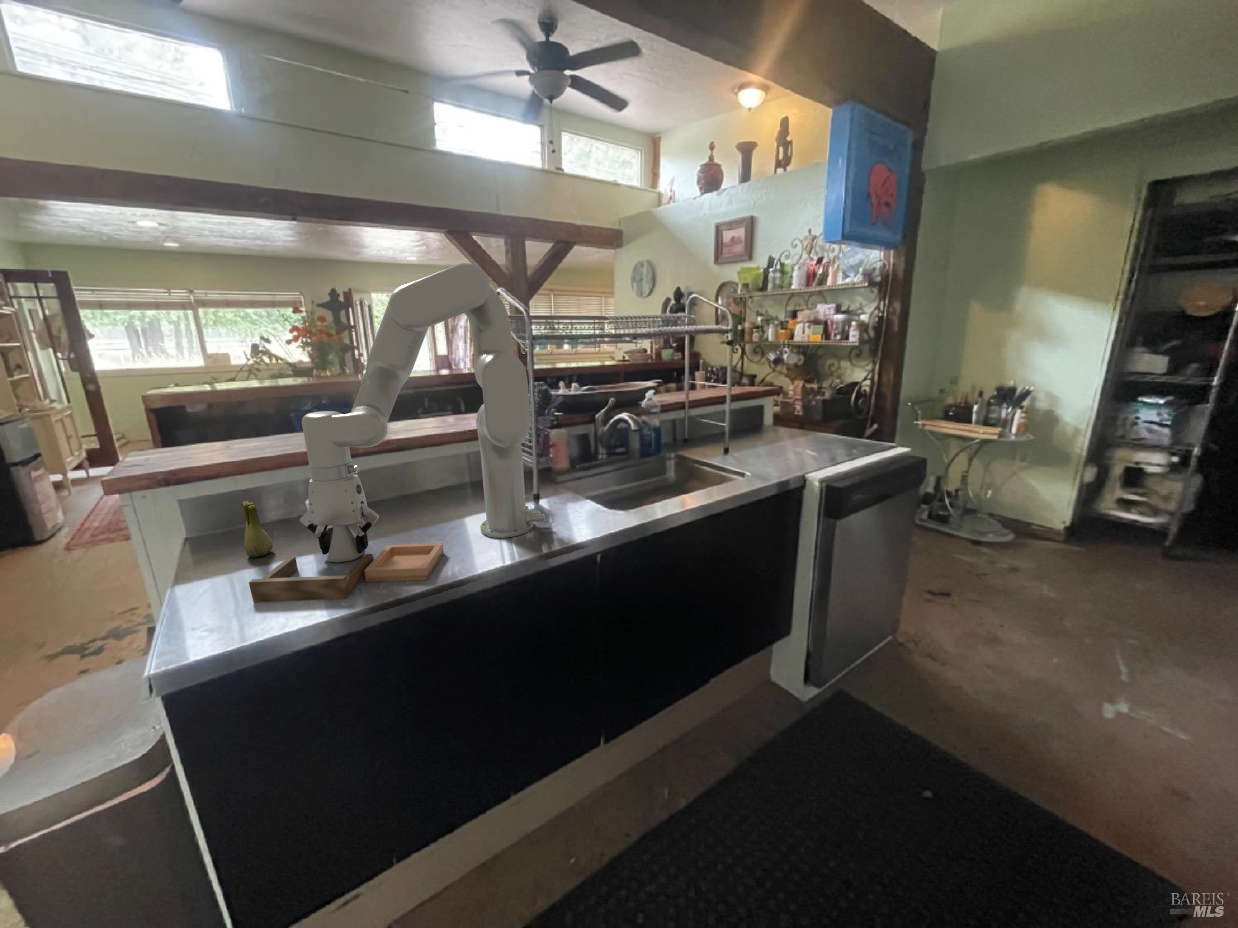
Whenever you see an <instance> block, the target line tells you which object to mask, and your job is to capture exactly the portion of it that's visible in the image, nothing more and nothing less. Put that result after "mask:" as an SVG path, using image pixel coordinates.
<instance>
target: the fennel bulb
mask: <svg viewBox="0 0 1238 928" xmlns="http://www.w3.org/2000/svg"><path fill="white" fill-rule="evenodd" d="M241 506H242V509H243V510H242V511H243V513H244V519H245V532H244V549H245V551H246V555H247V556H249V557H250V558H260V557H263V556H266V555H268V554H269V553H270V552H271V551H272V549H273V548H274V547H273V546H274V545H273V540H272V538H271V537H270V536H269V534H268V533H267V532H266V531H265V529H263V528H262V525H261V523H260V519H259V516H258V514H259V513H258V511H257V506H256V505H255V503H254V502H249V501H243V502H242V503H241Z"/></svg>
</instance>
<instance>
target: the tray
mask: <svg viewBox="0 0 1238 928" xmlns="http://www.w3.org/2000/svg"><path fill="white" fill-rule="evenodd" d="M444 553H445V551H444V544H443V542H439V543H438V542H437V543H433V542H432V543H408V544H407V543H404V544H403V543H402V544H387V545H386V546H385V548H383V549H382V550H381V552H380V553H379V554H378V555H377V556H376V557H375V558H373V562H372V563H371V564H370V565H369V566H368V567H367V568H366V569H365V570H364V571H365V581H366V583H377V582H399V581H401V582H404V581H425V580H426V581H427V580H429V578H430V576H431V575H432V574H433V572H434V570H435V568H436V567H437V565H438V564H439V562H440V560H441V558H442V557H443V556H444V555H445V554H444Z"/></svg>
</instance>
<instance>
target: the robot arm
mask: <svg viewBox="0 0 1238 928" xmlns="http://www.w3.org/2000/svg"><path fill="white" fill-rule="evenodd" d="M462 314H465V316H466V318H467V319H468V322H469V327H470V330H471V331H470V332H471V339H472V345H473V346H472V347H473V358H474V359H473V360H474V361H473V362H474V376H475V381H476V382H477V384H478V385H479V387H480V388H481V389H482V398H483V399H482V400H483V404H481V405H480V407H479V409H478V410H477V414H476V420H475V421H476V424H475V425H476V431H477V436H478V443H479V450H480V451H479V452H480V457H481V458H480V461H481V472H482V485H483V497H484V506H485V507H484V509H485V517H486V519H485V520H484V521H483V522H482V523H481V524H480V532H481V533H482V535H484V536H486V537H489V538H498V539H501V538H502V539H504V538H505V539H506V538H513V537H518V536H522V535H524V534H527V533H528V532H530V531H531V530H532V529H533V527H534V522H535V523H536V522H537V523H542V522H543V523H544V522H545V520H546V519H545V518H546V517H545V513H541V511H538V510H537V511H531V510H529V505H526V492H525V490H526V489H525V477H524V476H525V474H524V457H523V456H524V455H523V448H522V443H524V441H525V440H526V439H527V438H528V435H529V432H530V429H531V428H530V427H531V416H530V415H531V414H530V413H531V412H530V396H529V395H530V394H529V383H528V375H527V372H526V371H527V370H526V368H525V365H524V364H523V363H522V361H521V360H520V359H519V357H517V356H516V355H514V354H515V353H514V346H513V337H512V329H511V328H512V327H511V319H510V318H509V317H510V316H509V313H508V310H507V307H506V306H505V304H504V302H503V300H502V299H501V296H499V294H498V293H497V292H496V291H495V290H494V288H492V287H491V283H490V280H489V278H488V276H487V274H486V273H485V272H484V270H482V268H481V267H479V266H477V265H475V264H473V263H469V262H468V263H467V262H464V263H462V262H461V263H458V264H455V265H453V266H450V267H448V268H446V269H443V270H440V271H437V272H435V273H433V274H431V275H427V276H425V277H423V278H421V279H420V278H419V279H418V280H414V281H412V282H409V283H406V284H403V285H401V286H398V287H397V288H396V289H394V291H393V292H392V293H391V294H390V297H389V300H388V303H387V304H386V307H385V311H384V313H383V315H382V316H383V317H382V319H381V321H380V325H379V326H378V330H377V333H376V335H375V338H374V340H373V342H372V344H371V345H372V346H371V348H370V351H369V354H368V357H367V360H366V366H365V367H366V368H365V372H364V375H363V378H362V380H361V381H362V382H361V384H360V387H359V390H358V393H357V395H356V398H355V400H354V403H353V406H352V407H351V411H350V413H345V414H343V413H341V412H340V411H339V412H338V411H334V410H325V411H323V410H322V411H315V412H310V413H307V414H305V415H304V416H303V417H302V418H301V425H302V426H301V427H302V432H303V437H304V443H305V448H306V454H307V461H308V466H309V471H310V477H311V479H309V480H308V481H309V482H308V491H307V492H308V494H307V496H308V498H307V500H309V510H307V511H306V512H305V513H304V514H303V515H302V516H301V517H300V518H299V523H301V524H302V525H303V526H305V527H307V529H308V530H309V531H310V532H311V533H312V534H314V536H315V538H317V539H318V544H319V549H320V550H321V554H322V555H325V556H326V555H328V553H329V549H330V545H331V540H332V535H331V533H330V531H328V530H329V528H328V526H330V525H349V526H350V525H351V527H352V528H353V530H354V532H355V533H356V534H357V535H355V536H356V537H355V539H356V545H357V551H358V553H362V552H363V551H365V550H366V549H367V548H368V546H369V539H368V533H367V532H368V531H369V530H370V529H371V527H373V525H374V524H375V523H376V521H378V519H379V518H380V515H379V514H378V513H377V512H376V511H374V510H373V509H371V508H370V507H368V504H367V498H366V494H365V492H364V488H363V485H362V482H361V479H360V478H359V475H358V474H355V473H358V472H359V471H360V467H359V465H354V463H353V461H352V457H351V450H350V448H373V447H376V446H379V444H381V443H383V441H384V440H385V439H386V436H387V435H388V434H387V433H388V422H389V419H390V416H391V414H392V411H393V408H394V406H395V403H396V400H397V398H398V396H399V394H400V392H401V390H402V388H403V386H404V384H405V383H407V380H408V379H409V378H410V376H411V374H412V372H413V370H414V368H415V365H416V362H417V359H418V356H419V354H420V352H421V351H420V350H421V348H422V345H423V343H424V340H425V339H426V335H427V333H428V330H429V328H430V327H432V326H434V325H435V326H436V325H437V324H440V323H443V322H445V321H448V320H450V319H453V318H455V317H457V316H459V315H462ZM364 518H368V520H367V521H366V522H365V521H364Z"/></svg>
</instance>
